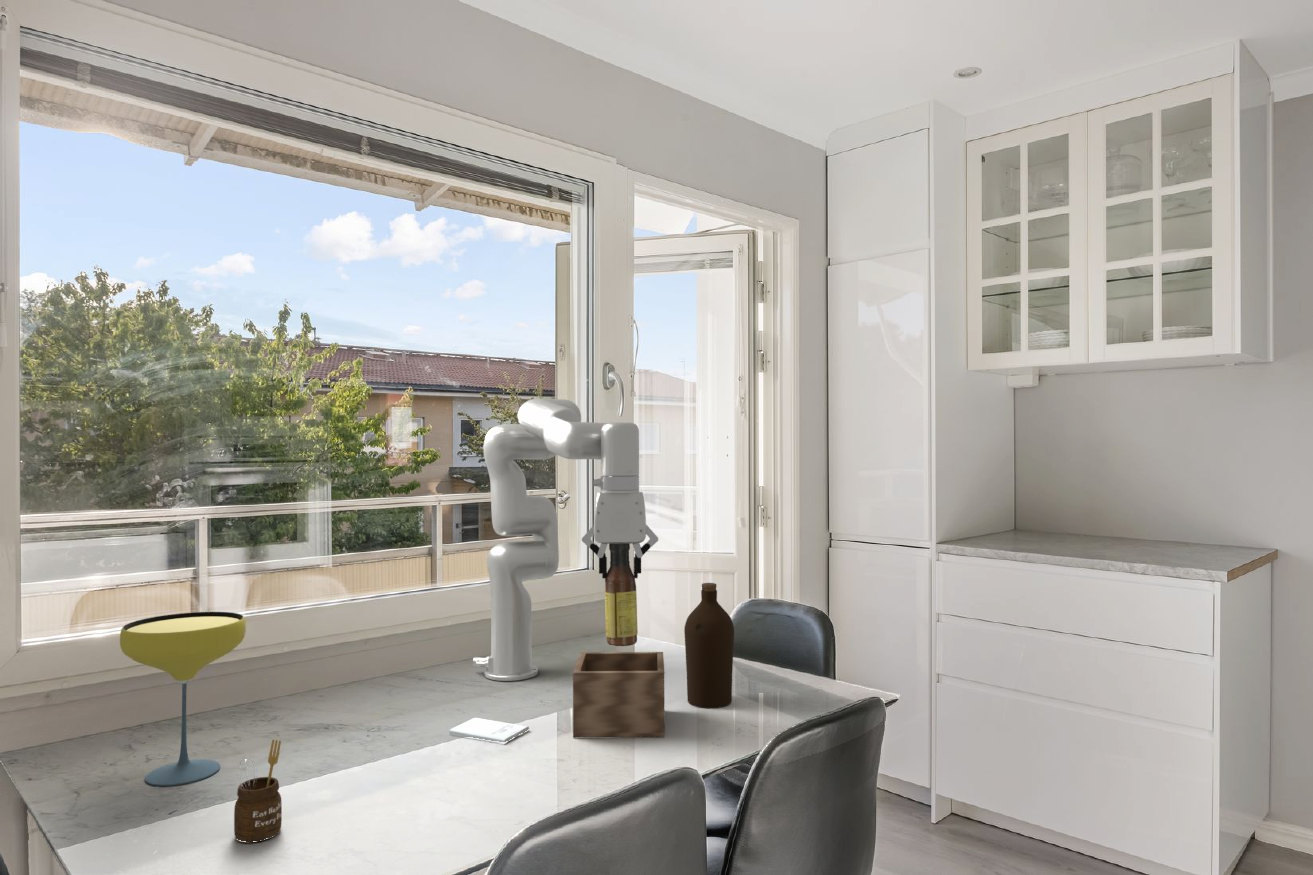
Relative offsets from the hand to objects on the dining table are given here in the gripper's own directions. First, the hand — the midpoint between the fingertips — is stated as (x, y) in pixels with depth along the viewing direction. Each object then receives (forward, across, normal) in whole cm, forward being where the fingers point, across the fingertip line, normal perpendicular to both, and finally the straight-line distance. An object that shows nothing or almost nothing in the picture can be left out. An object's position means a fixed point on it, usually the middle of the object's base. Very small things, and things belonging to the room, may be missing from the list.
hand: (620, 576), depth 160 cm
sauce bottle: (+13, 0, 0) cm, 13 cm away
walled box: (+29, 0, 0) cm, 29 cm away
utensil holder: (+29, -48, -46) cm, 73 cm away
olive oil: (+29, +18, +14) cm, 37 cm away
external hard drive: (+29, -25, -5) cm, 39 cm away
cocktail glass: (+29, -72, -24) cm, 81 cm away
